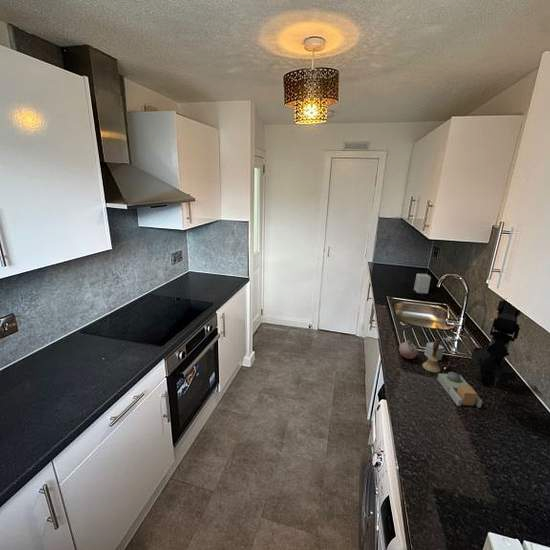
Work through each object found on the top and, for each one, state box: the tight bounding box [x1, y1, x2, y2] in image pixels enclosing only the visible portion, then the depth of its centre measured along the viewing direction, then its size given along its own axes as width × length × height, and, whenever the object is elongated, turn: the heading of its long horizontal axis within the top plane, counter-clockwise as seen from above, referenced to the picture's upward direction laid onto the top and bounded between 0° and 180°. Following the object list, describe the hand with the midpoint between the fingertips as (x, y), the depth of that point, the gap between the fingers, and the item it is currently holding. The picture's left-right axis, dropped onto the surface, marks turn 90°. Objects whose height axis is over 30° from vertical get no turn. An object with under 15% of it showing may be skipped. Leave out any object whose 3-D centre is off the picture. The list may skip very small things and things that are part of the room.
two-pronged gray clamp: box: [436, 371, 483, 409], centre depth 133 cm, size 18×10×5 cm, turn 177°
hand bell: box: [421, 338, 441, 373], centre depth 149 cm, size 8×8×16 cm
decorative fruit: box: [398, 339, 418, 360], centre depth 157 cm, size 9×8×10 cm
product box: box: [423, 342, 445, 361], centre depth 159 cm, size 6×6×7 cm
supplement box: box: [413, 273, 432, 295], centre depth 256 cm, size 9×9×15 cm
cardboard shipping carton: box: [457, 385, 478, 406], centre depth 128 cm, size 5×5×6 cm
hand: (488, 380), depth 123 cm, fingers open, 9 cm apart
